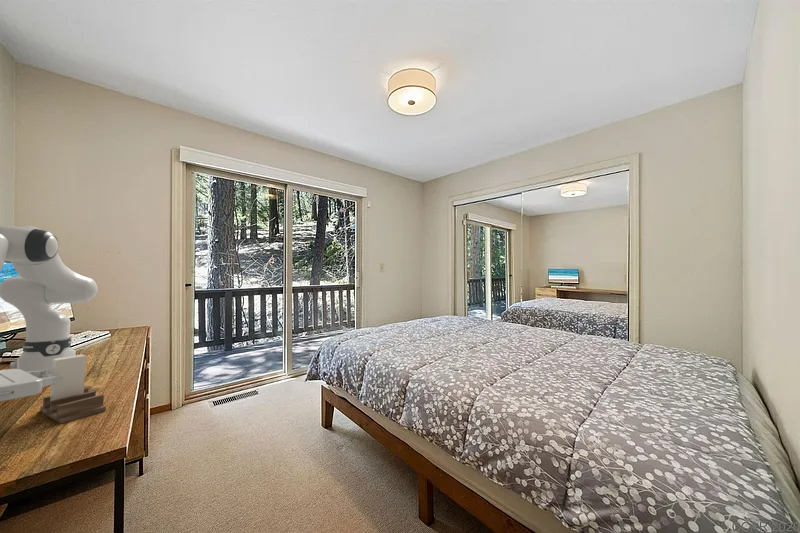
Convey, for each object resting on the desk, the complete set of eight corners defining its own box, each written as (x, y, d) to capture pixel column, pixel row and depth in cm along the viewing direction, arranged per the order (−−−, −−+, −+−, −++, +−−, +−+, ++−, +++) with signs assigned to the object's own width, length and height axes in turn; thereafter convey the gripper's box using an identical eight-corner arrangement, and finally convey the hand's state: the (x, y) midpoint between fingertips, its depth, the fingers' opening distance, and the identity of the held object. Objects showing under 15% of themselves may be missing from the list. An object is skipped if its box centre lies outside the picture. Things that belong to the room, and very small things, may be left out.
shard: (64, 404, 92) (65, 398, 92) (40, 403, 92) (41, 397, 92) (100, 391, 102) (101, 385, 102) (79, 390, 103) (79, 385, 103)
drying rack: (40, 410, 86) (41, 396, 86) (83, 399, 94) (84, 386, 94) (60, 423, 79) (61, 407, 79) (105, 410, 87) (106, 396, 87)
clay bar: (49, 408, 85) (52, 358, 86) (79, 400, 90) (82, 354, 91) (53, 410, 84) (56, 360, 84) (83, 402, 89) (85, 355, 90)
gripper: (-16, 385, 68) (70, 369, 81) (-36, 371, 78) (44, 359, 90) (-19, 413, 68) (69, 393, 80) (-38, 396, 77) (43, 380, 90)
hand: (56, 375), depth 85 cm, fingers open, 8 cm apart
